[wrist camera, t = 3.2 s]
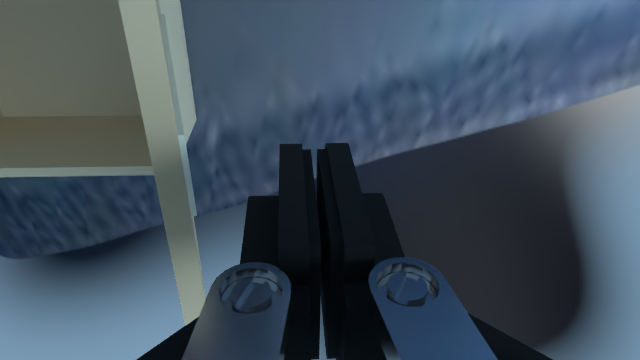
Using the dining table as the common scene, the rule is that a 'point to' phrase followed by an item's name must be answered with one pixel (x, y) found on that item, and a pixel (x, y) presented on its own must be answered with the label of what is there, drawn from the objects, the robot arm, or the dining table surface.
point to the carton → (77, 89)
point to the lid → (165, 143)
